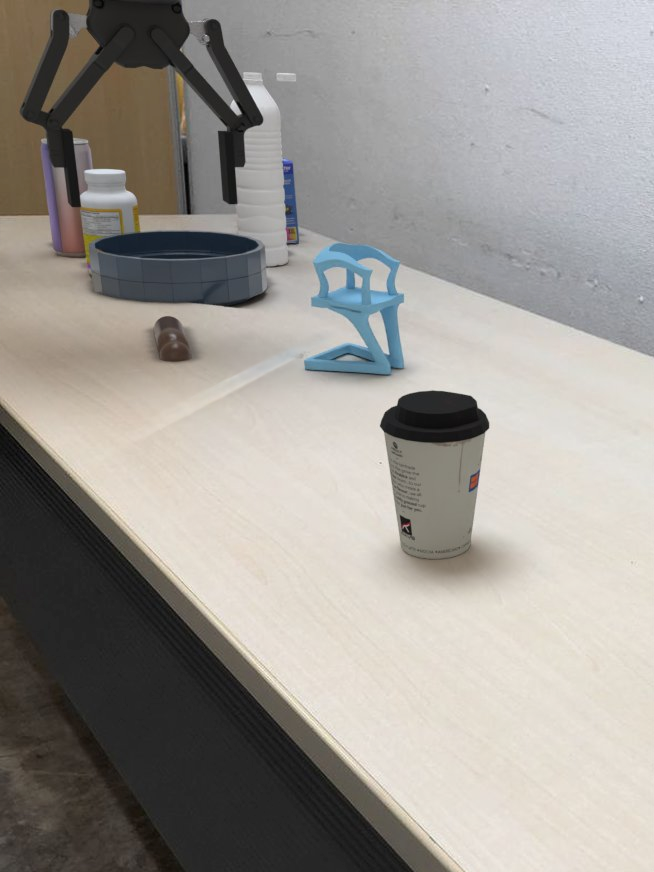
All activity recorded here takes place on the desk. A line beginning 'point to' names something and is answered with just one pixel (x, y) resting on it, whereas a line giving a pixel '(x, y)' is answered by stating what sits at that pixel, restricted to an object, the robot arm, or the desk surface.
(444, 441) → the coffee cup
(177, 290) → the bowl
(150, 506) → the desk surface
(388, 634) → the desk surface
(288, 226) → the ink cartridge box
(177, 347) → the chocolate candy
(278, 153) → the water bottle
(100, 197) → the supplement bottle
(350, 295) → the chair
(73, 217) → the beverage can
